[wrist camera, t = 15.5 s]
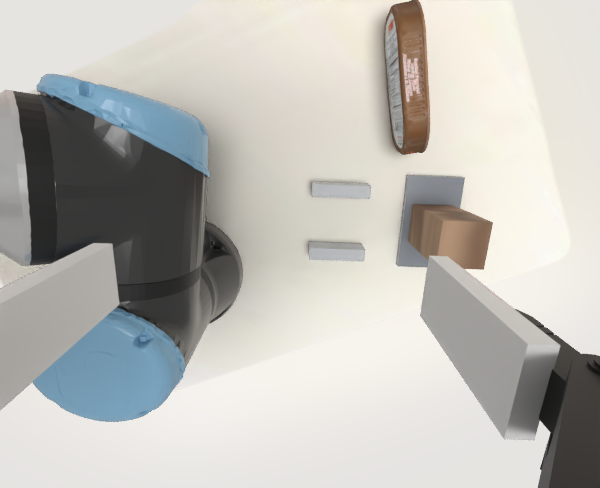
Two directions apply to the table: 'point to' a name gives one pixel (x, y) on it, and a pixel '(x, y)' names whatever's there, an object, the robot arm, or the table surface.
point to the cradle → (332, 248)
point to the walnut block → (450, 234)
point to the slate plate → (424, 192)
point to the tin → (407, 77)
